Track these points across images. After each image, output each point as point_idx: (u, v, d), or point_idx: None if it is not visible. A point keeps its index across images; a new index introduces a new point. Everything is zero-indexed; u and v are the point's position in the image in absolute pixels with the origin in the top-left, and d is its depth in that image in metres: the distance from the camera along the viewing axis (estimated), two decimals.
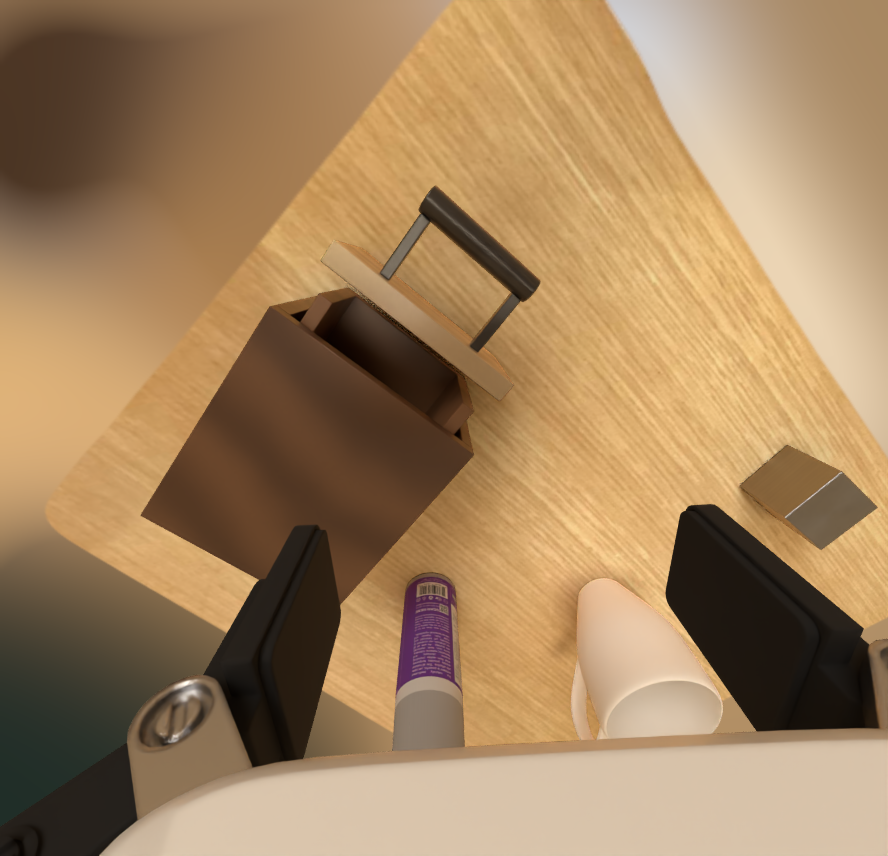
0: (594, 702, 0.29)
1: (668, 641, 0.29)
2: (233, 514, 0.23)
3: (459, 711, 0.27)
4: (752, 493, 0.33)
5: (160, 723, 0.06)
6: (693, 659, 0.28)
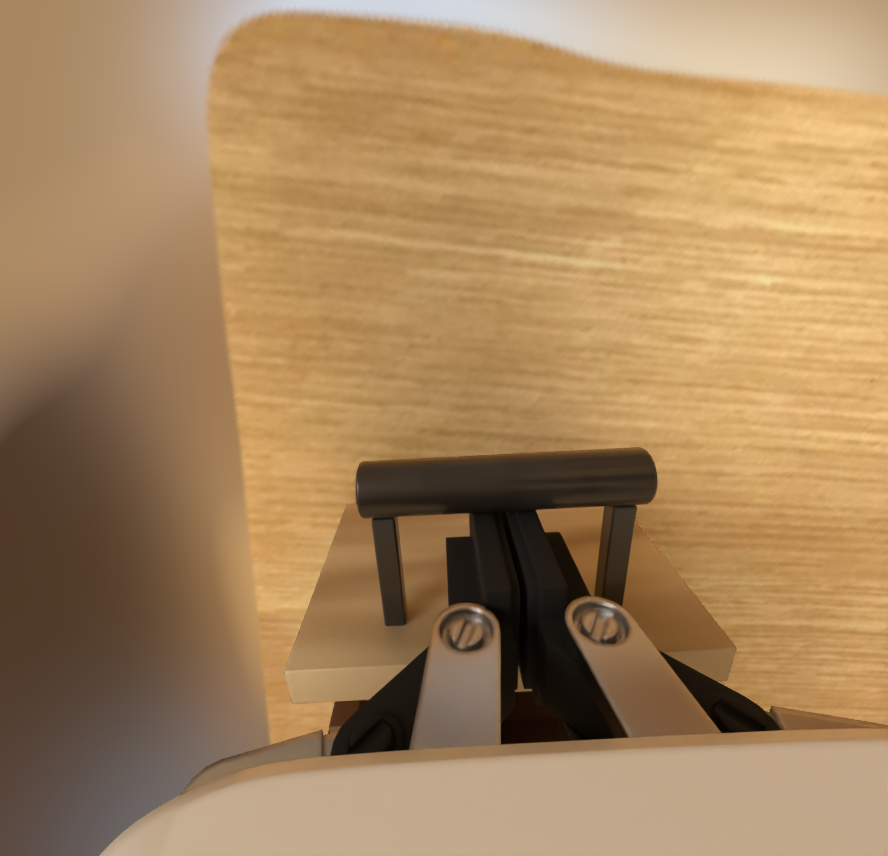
0: None
1: None
2: None
3: None
4: None
5: (454, 636, 0.07)
6: None
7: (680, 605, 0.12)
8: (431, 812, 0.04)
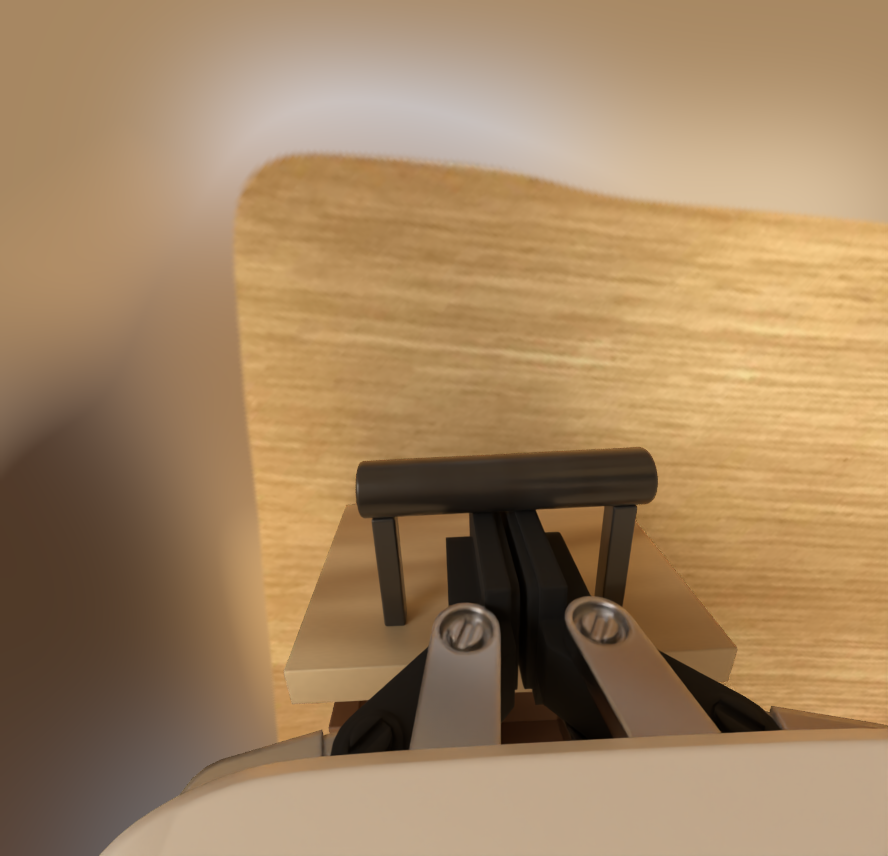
0: None
1: None
2: None
3: None
4: None
5: (454, 636, 0.07)
6: None
7: (680, 605, 0.12)
8: (431, 812, 0.04)
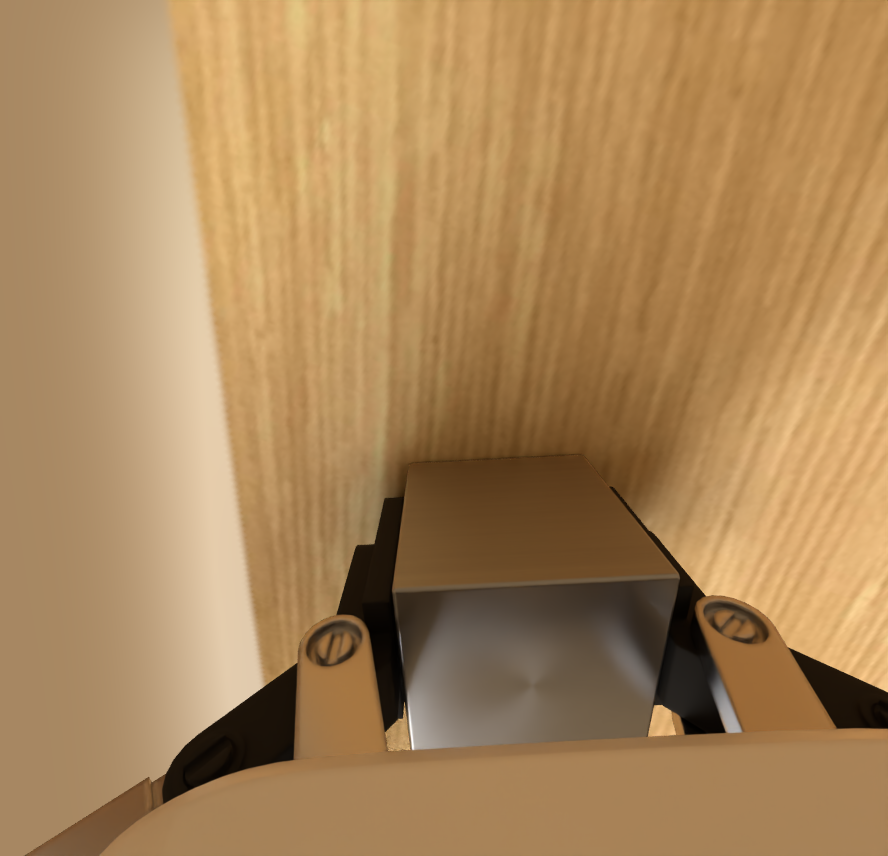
0: None
1: None
2: None
3: None
4: None
5: (321, 650, 0.07)
6: None
7: None
8: (431, 812, 0.04)
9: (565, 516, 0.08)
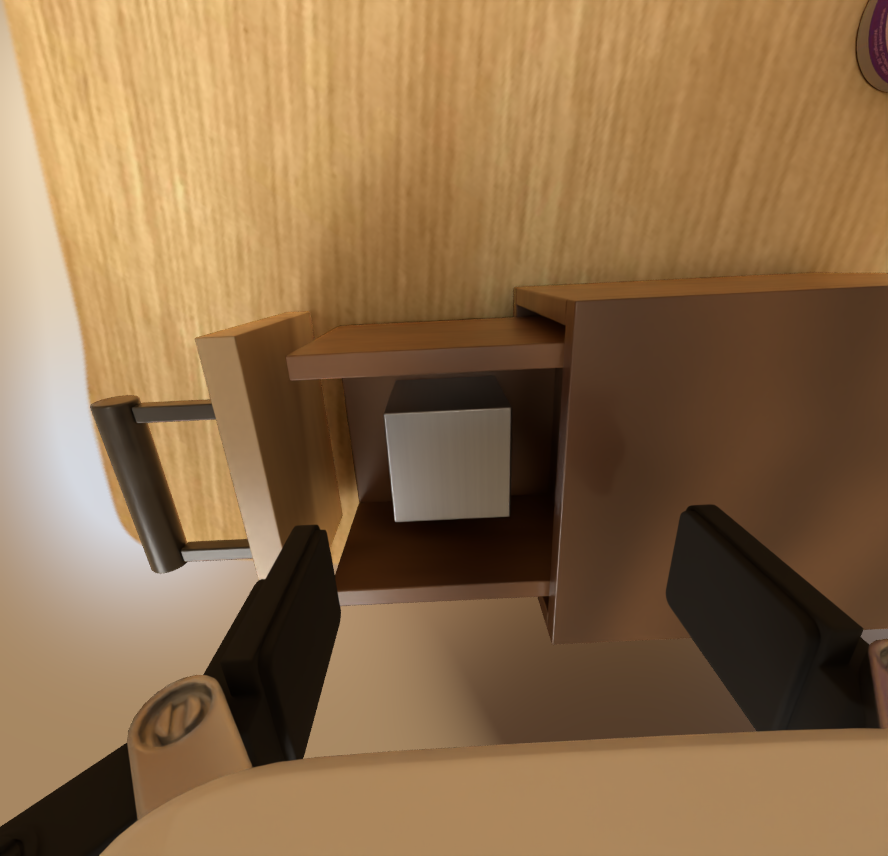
0: None
1: None
2: (886, 541, 0.14)
3: None
4: (476, 517, 0.17)
5: (160, 723, 0.06)
6: None
7: None
8: (431, 812, 0.04)
9: (433, 399, 0.16)
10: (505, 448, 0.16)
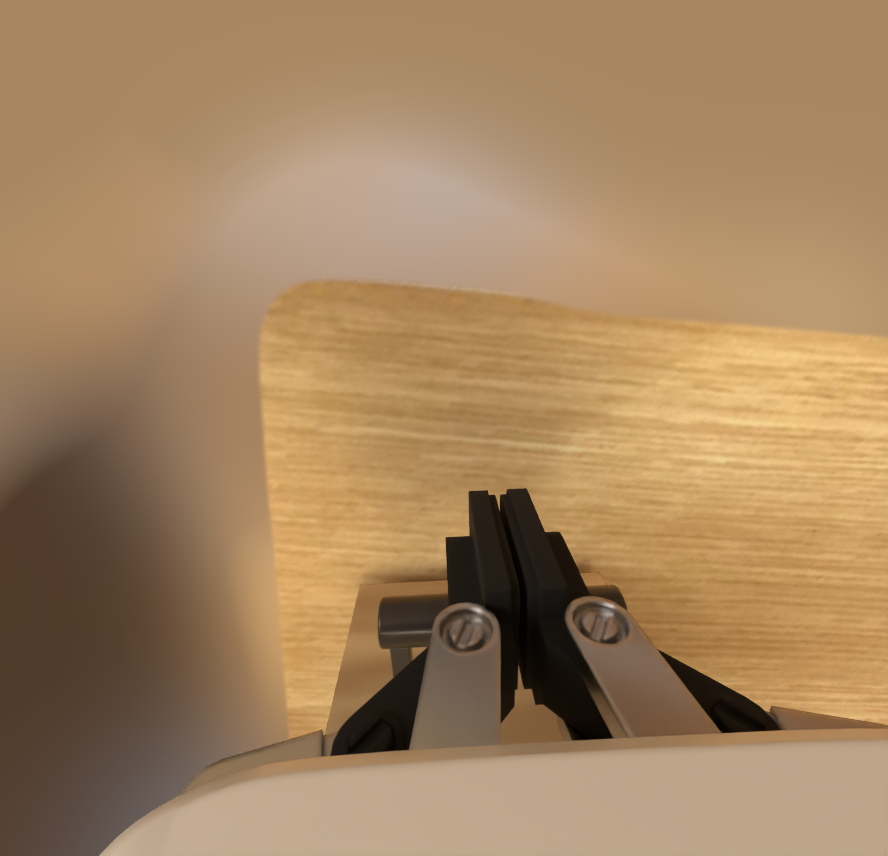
0: None
1: None
2: None
3: None
4: None
5: (454, 636, 0.07)
6: None
7: None
8: (431, 812, 0.04)
9: None
10: None
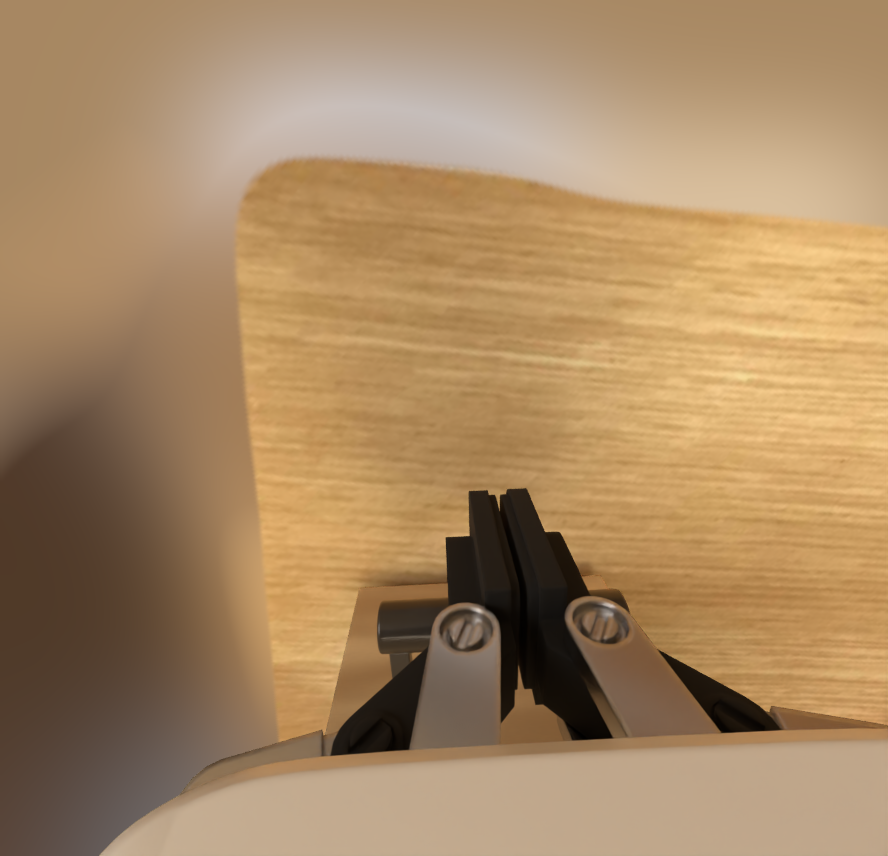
0: None
1: None
2: None
3: None
4: None
5: (454, 637, 0.07)
6: None
7: None
8: (431, 812, 0.04)
9: None
10: None
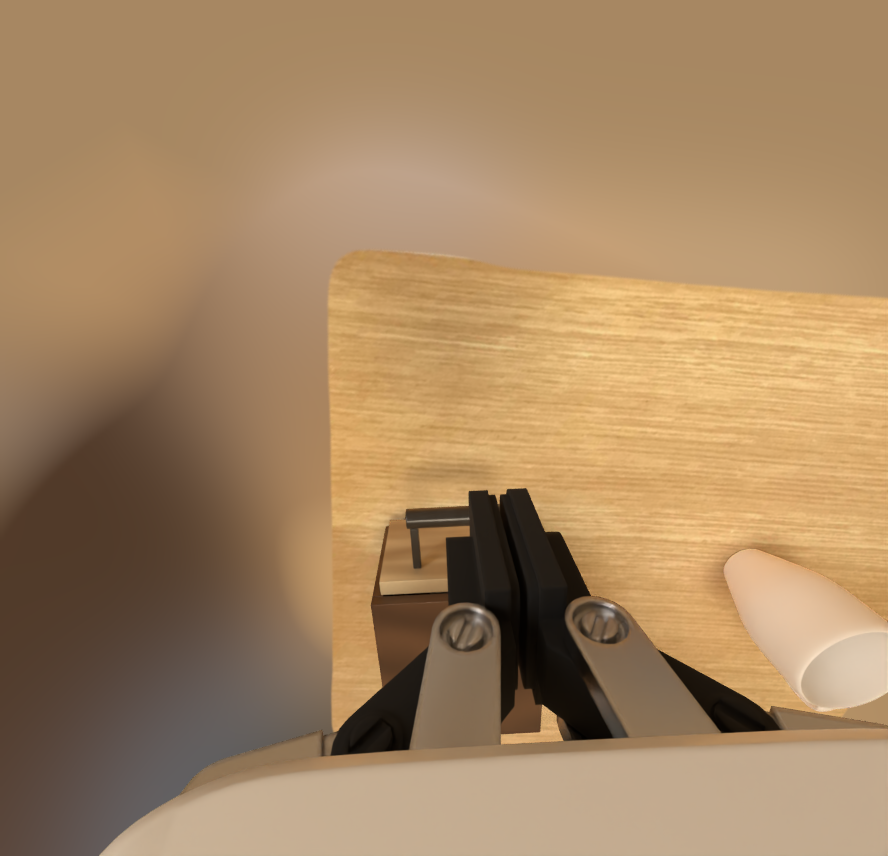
0: None
1: (814, 603, 0.31)
2: None
3: None
4: None
5: (454, 636, 0.07)
6: (846, 608, 0.30)
7: None
8: (431, 812, 0.04)
9: None
10: None
